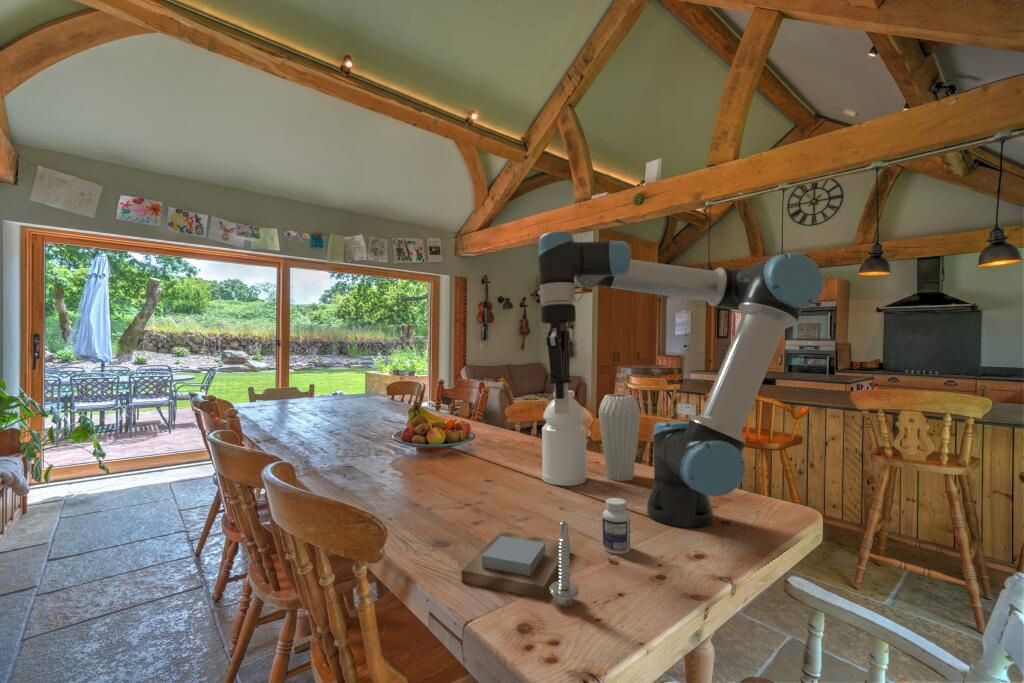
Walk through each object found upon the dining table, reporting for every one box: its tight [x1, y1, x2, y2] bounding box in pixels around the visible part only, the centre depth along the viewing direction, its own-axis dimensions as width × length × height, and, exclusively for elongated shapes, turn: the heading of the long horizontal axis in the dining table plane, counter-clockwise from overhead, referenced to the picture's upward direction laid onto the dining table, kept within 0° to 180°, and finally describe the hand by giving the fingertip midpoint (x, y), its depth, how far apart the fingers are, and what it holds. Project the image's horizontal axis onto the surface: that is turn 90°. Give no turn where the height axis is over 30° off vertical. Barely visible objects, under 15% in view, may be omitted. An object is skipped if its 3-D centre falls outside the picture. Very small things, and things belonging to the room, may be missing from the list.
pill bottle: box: [602, 497, 631, 555], centre depth 91 cm, size 5×5×10 cm
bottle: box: [541, 389, 587, 487], centre depth 140 cm, size 14×14×28 cm
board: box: [461, 531, 571, 600], centre depth 83 cm, size 15×18×2 cm
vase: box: [598, 393, 642, 482], centre depth 143 cm, size 13×13×26 cm
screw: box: [548, 520, 580, 608], centre depth 71 cm, size 13×5×5 cm
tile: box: [482, 536, 545, 576], centre depth 81 cm, size 9×2×9 cm
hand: (561, 413), depth 96 cm, fingers closed
